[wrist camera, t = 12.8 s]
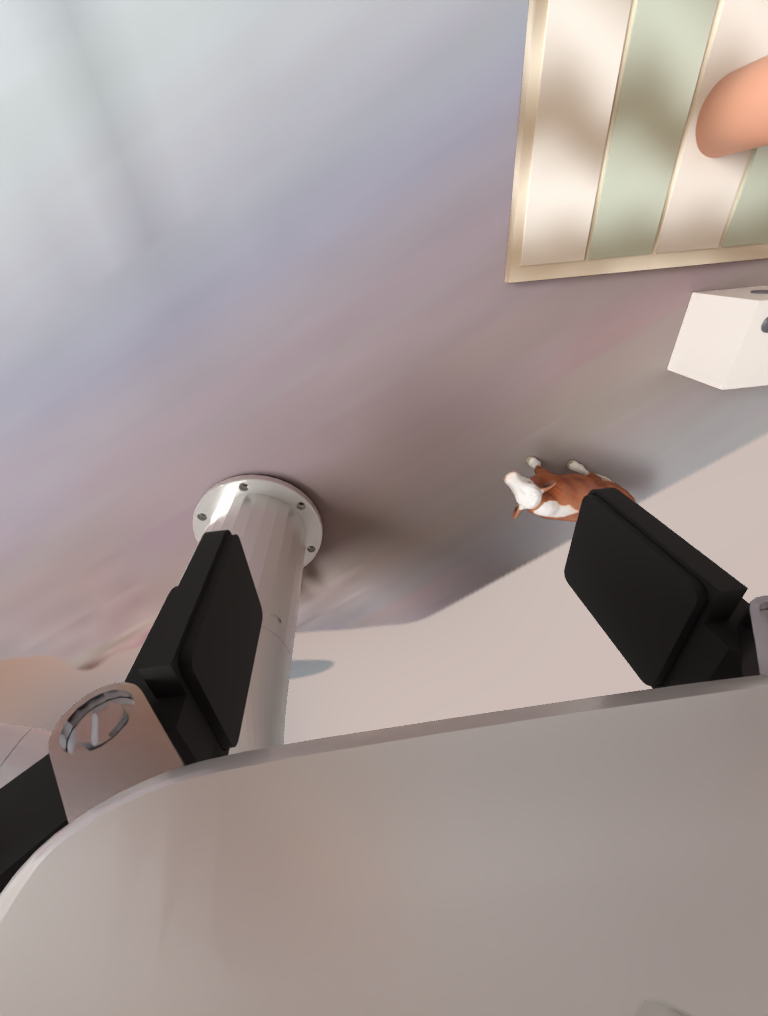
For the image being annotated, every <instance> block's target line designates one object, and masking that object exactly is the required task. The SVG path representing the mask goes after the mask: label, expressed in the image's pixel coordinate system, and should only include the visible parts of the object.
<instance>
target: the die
mask: <svg viewBox="0 0 768 1016" xmlns="http://www.w3.org/2000/svg"><path fill="white" fill-rule="evenodd" d="M667 370H670V371H673V372H675V373H678V374H681V375H683V376H686V377H689V378H691V379H694V380H697V381H699V382H702V383H705V384H708V385H710V386H713V387H716V388H718V389H721V390H726V389H736V388H745V387H755V386H764V385H768V286H754V287H744V288H734V289H724V290H713V291H703V292H693V293H692V296H691V299H690V302H689V305H688V308H687V311H686V314H685V317H684V320H683V323H682V326H681V329H680V332H679V335H678V338H677V341H676V344H675V347H674V350H673V353H672V356H671V359H670V362H669V365H668V368H667Z"/></svg>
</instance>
